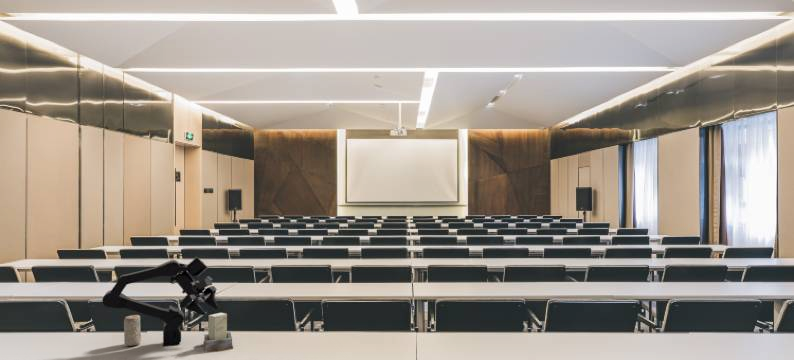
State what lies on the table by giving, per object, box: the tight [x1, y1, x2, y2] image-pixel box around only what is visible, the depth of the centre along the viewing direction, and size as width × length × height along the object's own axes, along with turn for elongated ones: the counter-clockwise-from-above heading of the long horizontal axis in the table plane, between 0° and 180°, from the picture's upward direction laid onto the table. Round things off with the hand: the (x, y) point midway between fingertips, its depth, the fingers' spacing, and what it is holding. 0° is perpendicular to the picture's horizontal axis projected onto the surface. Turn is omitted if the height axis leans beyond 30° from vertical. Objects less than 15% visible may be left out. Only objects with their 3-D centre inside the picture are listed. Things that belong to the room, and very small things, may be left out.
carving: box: [123, 314, 142, 347], centre depth 216 cm, size 6×8×12 cm
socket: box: [203, 331, 234, 353], centre depth 214 cm, size 11×11×4 cm
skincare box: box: [207, 312, 228, 341], centre depth 214 cm, size 6×4×12 cm
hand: (211, 311), depth 217 cm, fingers open, 9 cm apart
